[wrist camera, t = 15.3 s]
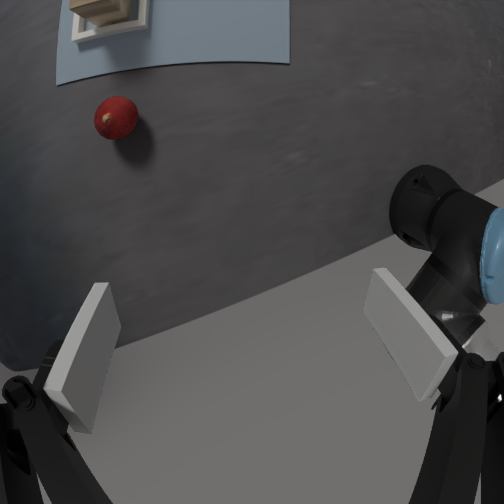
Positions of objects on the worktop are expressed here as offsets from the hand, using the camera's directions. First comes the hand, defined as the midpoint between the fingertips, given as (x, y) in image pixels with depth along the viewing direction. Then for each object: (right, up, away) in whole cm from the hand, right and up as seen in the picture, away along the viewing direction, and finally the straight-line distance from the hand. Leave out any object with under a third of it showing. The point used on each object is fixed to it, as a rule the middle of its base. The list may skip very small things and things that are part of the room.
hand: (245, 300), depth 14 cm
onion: (-18, +21, +22) cm, 35 cm away
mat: (-11, +37, +14) cm, 42 cm away
